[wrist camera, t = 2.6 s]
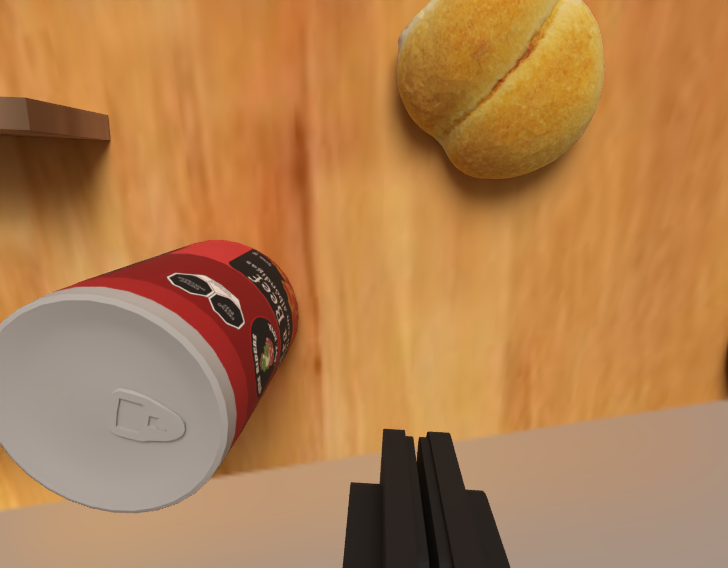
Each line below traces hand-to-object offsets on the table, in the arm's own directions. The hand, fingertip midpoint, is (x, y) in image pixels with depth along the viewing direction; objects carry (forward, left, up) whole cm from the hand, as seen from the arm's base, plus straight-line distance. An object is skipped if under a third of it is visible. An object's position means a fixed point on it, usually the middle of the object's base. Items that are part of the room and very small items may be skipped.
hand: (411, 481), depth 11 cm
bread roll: (-3, -12, -13) cm, 18 cm away
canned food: (+9, 0, -13) cm, 16 cm away
